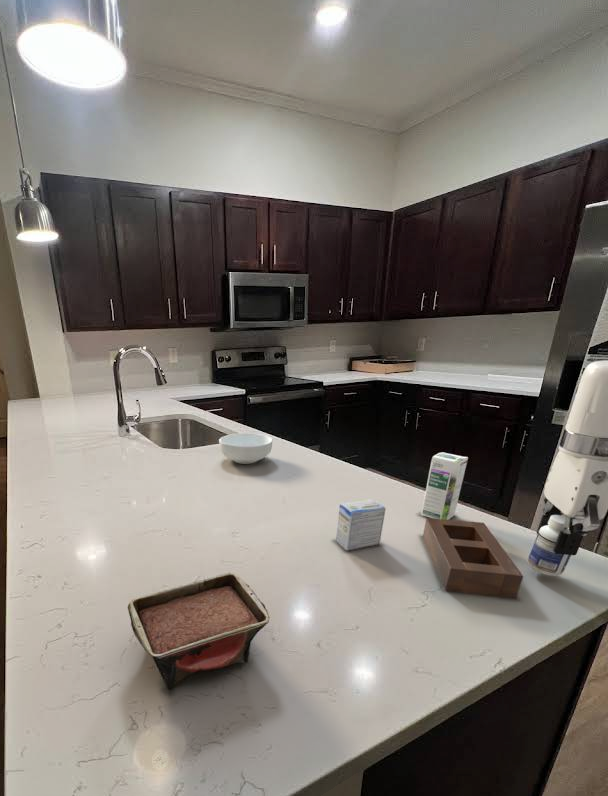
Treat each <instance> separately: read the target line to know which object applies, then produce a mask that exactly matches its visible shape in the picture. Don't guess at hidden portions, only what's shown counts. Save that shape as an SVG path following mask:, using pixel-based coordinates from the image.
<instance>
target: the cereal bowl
mask: <svg viewBox="0 0 608 796" xmlns="http://www.w3.org/2000/svg"><path fill="white" fill-rule="evenodd" d="M218 445H219V450H220V452H221V454H222V455H223V456H224V457H225V458H227V459H229V460H232V461H233V462H234V463H237V464H242V465H250V464H255V463H257V462H258V461H260V460H262V459H265V458H266V457H267V456H268V455H269V454H270V453H271V451H272V448H273V439H272V437H271V436H268V435H266V434H261V433H260V434H259V433H252V432H241V433H239V432H238V433H231V434H227V435H224V436H221V437H220V438H219V439H218Z"/></svg>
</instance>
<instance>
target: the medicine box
mask: <svg viewBox="0 0 608 796" xmlns="http://www.w3.org/2000/svg"><path fill="white" fill-rule="evenodd" d="M386 510H387V509H386V507H385V506H384V505H382V504H381V503H380V502H378V501H377V500H375V499H373V498H370V499H364V500H358V501H351V502H346V503H345V502H344V503H341V504H339V507H338V516H337V524H336V525H337V526H336V533H335V541H336V543H337V544H338V545H340V546H341V547H342V548H343V549H344V550H345V551H353V550H358V549H361V548H367V547H372V546H377V545H380V544H381V538H382V532H383V527H384V522H385V521H384V520H385V515H386Z"/></svg>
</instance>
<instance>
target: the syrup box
mask: <svg viewBox="0 0 608 796" xmlns="http://www.w3.org/2000/svg"><path fill="white" fill-rule="evenodd" d="M468 460H469V457H468V456H462V455H457V454H453V453H447V452H444V451H443V452H438V453H437V454H434V455H433V456H432V458H431V461H430V467H429V471H428V477H427V482H426V487H425V493H424V498H423V503H422V507H421V511H420V516H422V517H427V518H433V519H445V520H451V518H453V517H454V516H455V515H456V510H457V506H458V502H459V497H460V493H461V490H462V486H463V481H464V477H465V473H466V472H465V471H466V468H467V464H468Z"/></svg>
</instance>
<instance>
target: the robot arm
mask: <svg viewBox="0 0 608 796" xmlns="http://www.w3.org/2000/svg"><path fill="white" fill-rule="evenodd" d="M543 495H544V498H543V502H544V506H543V507H542V510H541V511H542V515H541V518H540V522H539V525H538V527H537V530H536V535H538V532H539V530H540V528H541V527H543V526H546V525H548V521H549V519H550V517H551V516H552V515H561V516H565V524H564V531H560V533H559V535H558V538H557V541H556V544H555V547H554V549H553V551H554V552H555V553H556V554H565V555H571V556H576V555H577V554H578V551H579V549H580V547H581V544H582V541H583V539H584V537H586V536H587V535H588V533H590V532H592V531H594V530H597V529H599V528H600V525H601V524H600V521H601V520H603V519H604V518H605V517H606V514H607V512H608V360H606V359H605V360H595V361H593V362H591V363H589V364H588V365H587V366H586V367H585V368H584V370H583V372H582V374H581V377H580V380H579V384H578V387H577V390H576V394H575V397H574V399H573V402H572V406H571V409H570V412H569V414H568V418H567V421H566V424H565V427H564V430H563V433H562V436H561V439H560V443H559V446H558V452H557V454H556V457H555V459H554V460H553V463H552V465H551V468H550V470H549V474H548V476H547V479H546V482H545V485H544V488H543ZM577 513H582V515H581V514H577ZM563 514H564V515H563ZM573 519H574V520H579V521H580V522H578V523H577V524H575V525H573V526H572V524H573Z"/></svg>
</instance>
